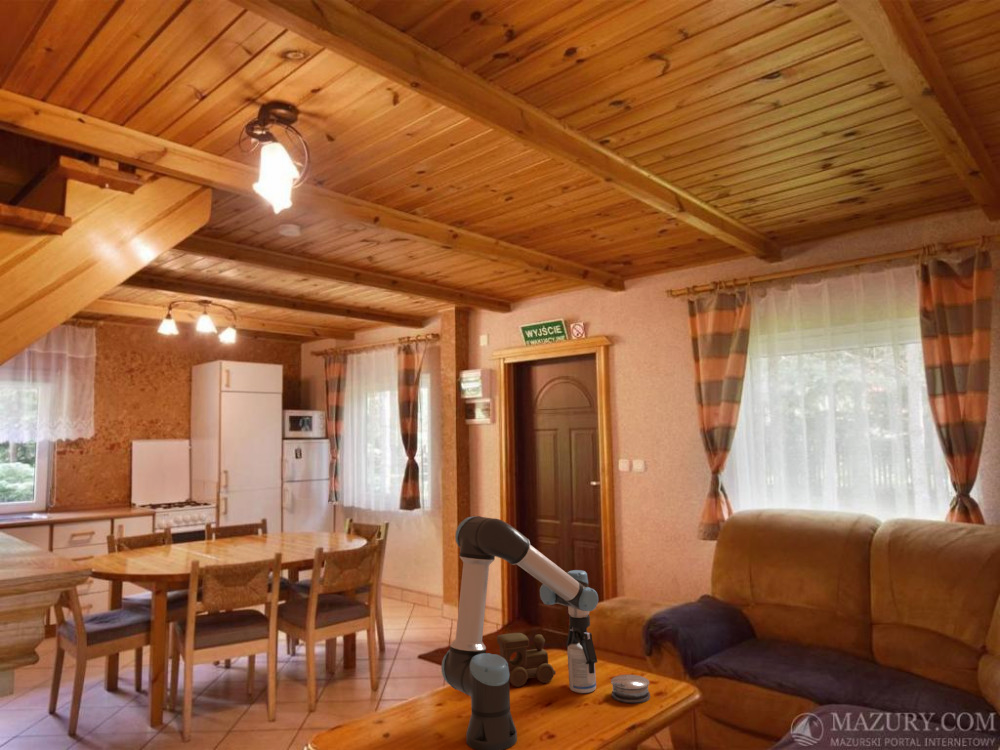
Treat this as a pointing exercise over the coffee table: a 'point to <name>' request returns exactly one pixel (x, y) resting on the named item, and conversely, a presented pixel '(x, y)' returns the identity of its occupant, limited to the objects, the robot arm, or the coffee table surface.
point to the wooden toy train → (525, 658)
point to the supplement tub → (578, 670)
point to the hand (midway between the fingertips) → (582, 676)
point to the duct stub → (630, 689)
